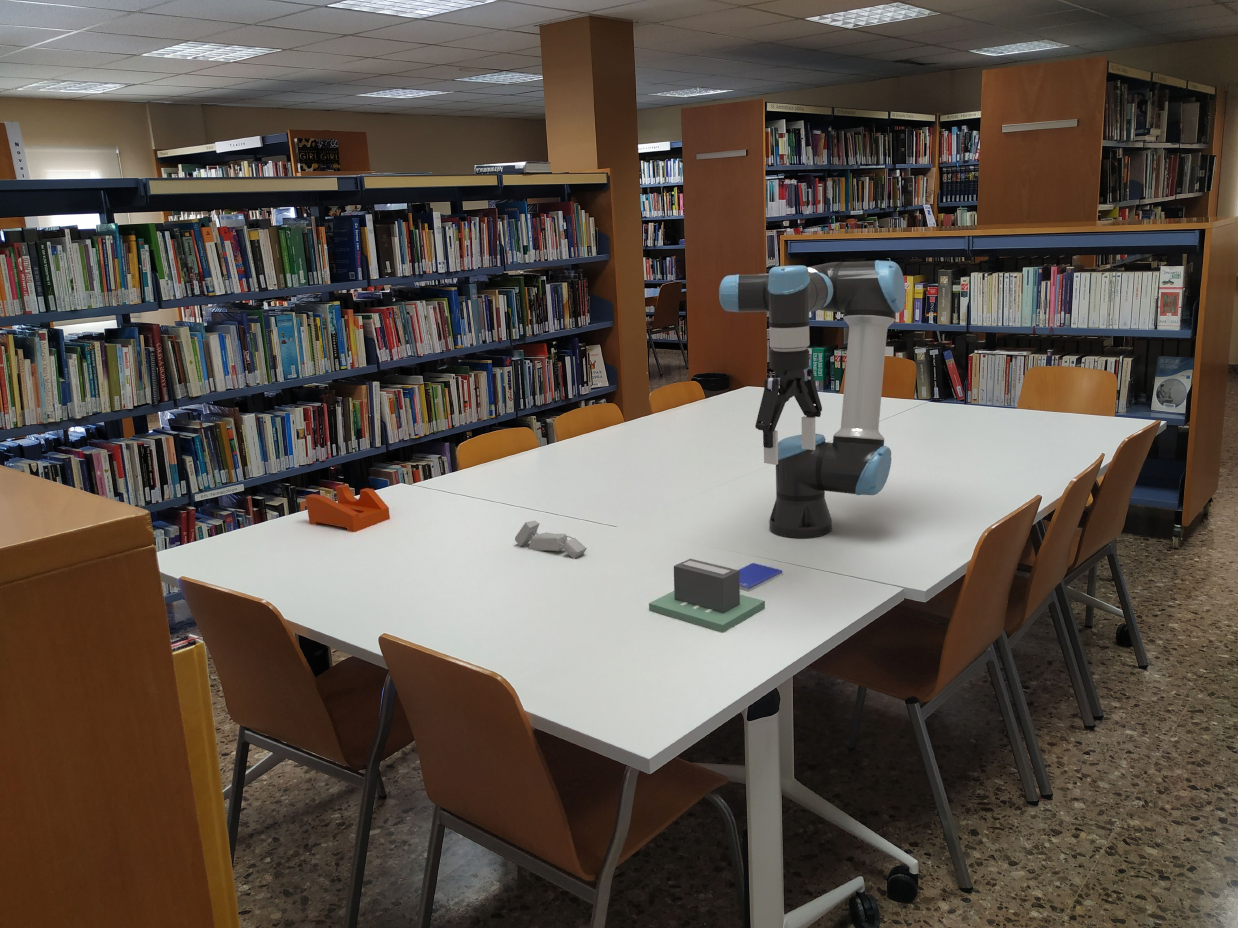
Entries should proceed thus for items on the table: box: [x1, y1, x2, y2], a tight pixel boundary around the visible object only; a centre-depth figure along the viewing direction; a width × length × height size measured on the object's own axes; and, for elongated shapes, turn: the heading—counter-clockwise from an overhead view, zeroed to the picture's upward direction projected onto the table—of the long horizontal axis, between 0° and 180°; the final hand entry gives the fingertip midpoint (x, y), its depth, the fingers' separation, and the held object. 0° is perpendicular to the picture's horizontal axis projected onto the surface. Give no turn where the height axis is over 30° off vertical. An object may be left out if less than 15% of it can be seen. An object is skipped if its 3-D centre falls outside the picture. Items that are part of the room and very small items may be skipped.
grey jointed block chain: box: [514, 520, 588, 559], centre depth 223 cm, size 20×4×7 cm, turn 53°
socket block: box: [673, 558, 741, 613], centre depth 183 cm, size 5×12×7 cm, turn 48°
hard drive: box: [738, 562, 784, 593], centre depth 199 cm, size 2×8×12 cm
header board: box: [648, 590, 766, 633], centre depth 183 cm, size 14×18×6 cm
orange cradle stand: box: [305, 484, 391, 533], centre depth 255 cm, size 18×13×8 cm
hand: (790, 456), depth 183 cm, fingers open, 13 cm apart
